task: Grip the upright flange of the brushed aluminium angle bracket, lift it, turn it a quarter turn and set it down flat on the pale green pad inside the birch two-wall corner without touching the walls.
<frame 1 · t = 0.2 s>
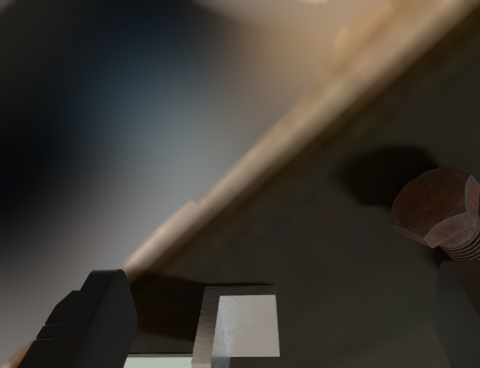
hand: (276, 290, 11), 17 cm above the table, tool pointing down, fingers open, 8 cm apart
angle bracket: (244, 316, 37), on the table
bolt: (469, 237, 31), on the table
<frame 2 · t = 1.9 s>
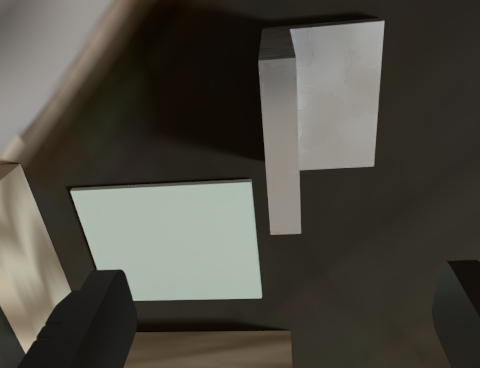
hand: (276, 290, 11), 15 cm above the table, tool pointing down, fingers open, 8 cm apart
angle bracket: (319, 97, 23), on the table
corner walls: (173, 244, 29), on the table
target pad: (173, 244, 29), on the table
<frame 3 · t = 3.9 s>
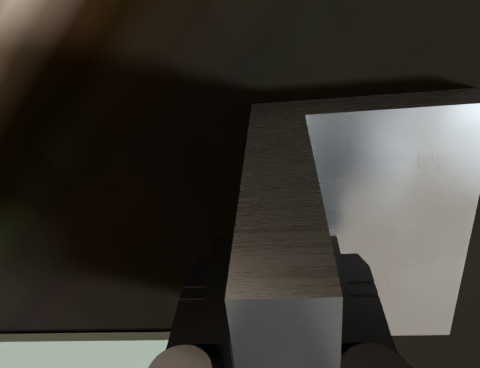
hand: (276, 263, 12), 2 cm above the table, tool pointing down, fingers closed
angle bracket: (355, 218, 13), on the table, touching gripper
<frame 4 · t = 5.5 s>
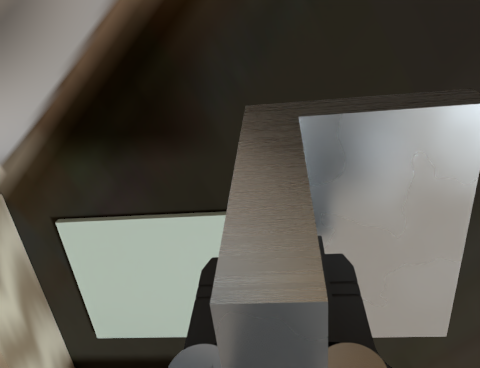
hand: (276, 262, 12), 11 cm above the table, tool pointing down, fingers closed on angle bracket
angle bracket: (351, 219, 13), point 9 cm above the table, touching gripper
corner walls: (166, 278, 27), on the table
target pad: (166, 278, 27), on the table
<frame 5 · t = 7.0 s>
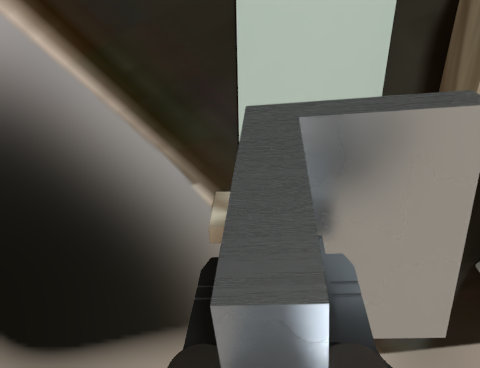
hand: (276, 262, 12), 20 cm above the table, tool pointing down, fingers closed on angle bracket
angle bracket: (350, 220, 13), point 18 cm above the table, touching gripper
corner walls: (309, 81, 29), on the table
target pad: (309, 81, 29), on the table
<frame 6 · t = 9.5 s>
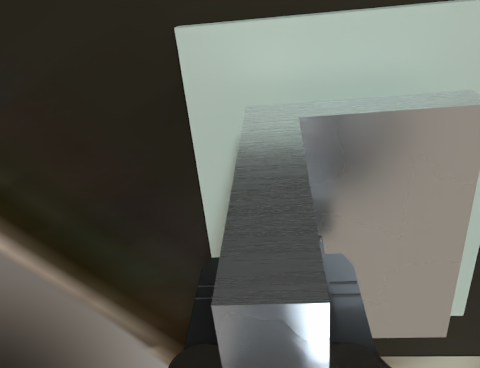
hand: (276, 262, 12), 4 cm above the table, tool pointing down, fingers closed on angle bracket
angle bracket: (351, 220, 13), point 2 cm above the table, touching gripper
corner walls: (340, 189, 15), on the table
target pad: (340, 189, 15), on the table
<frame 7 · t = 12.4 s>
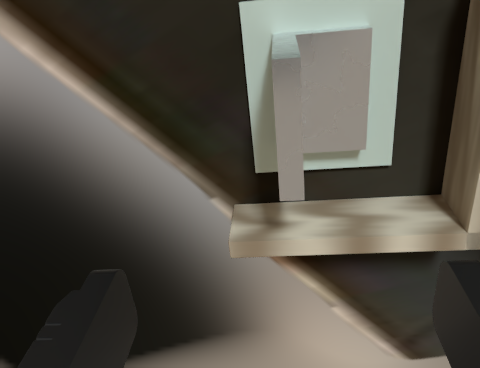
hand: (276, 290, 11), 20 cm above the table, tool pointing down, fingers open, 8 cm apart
angle bracket: (320, 91, 28), resting on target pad
corner walls: (320, 88, 28), on the table
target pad: (320, 88, 28), on the table
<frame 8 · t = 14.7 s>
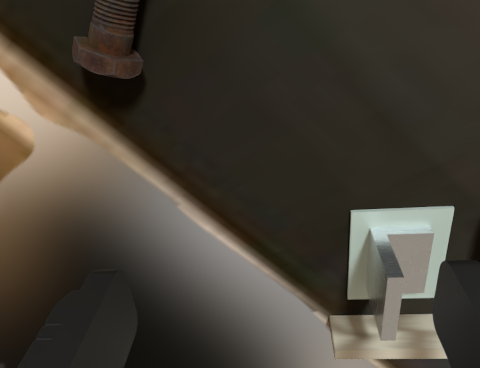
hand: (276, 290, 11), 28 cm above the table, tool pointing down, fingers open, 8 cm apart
angle bracket: (396, 257, 44), resting on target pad
corner walls: (396, 254, 44), on the table
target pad: (396, 254, 44), on the table
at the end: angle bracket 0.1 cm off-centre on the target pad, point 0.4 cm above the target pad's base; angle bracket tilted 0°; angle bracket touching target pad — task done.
